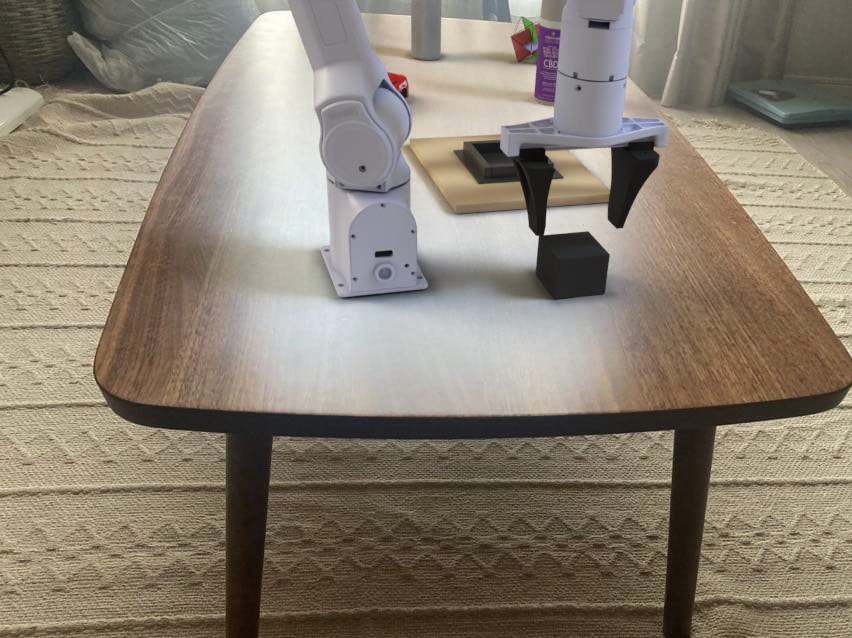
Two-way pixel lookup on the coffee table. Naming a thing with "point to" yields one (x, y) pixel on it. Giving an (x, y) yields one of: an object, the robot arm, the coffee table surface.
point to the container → (548, 51)
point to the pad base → (499, 175)
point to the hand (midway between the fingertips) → (576, 227)
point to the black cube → (572, 264)
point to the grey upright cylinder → (426, 29)
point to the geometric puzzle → (526, 41)
